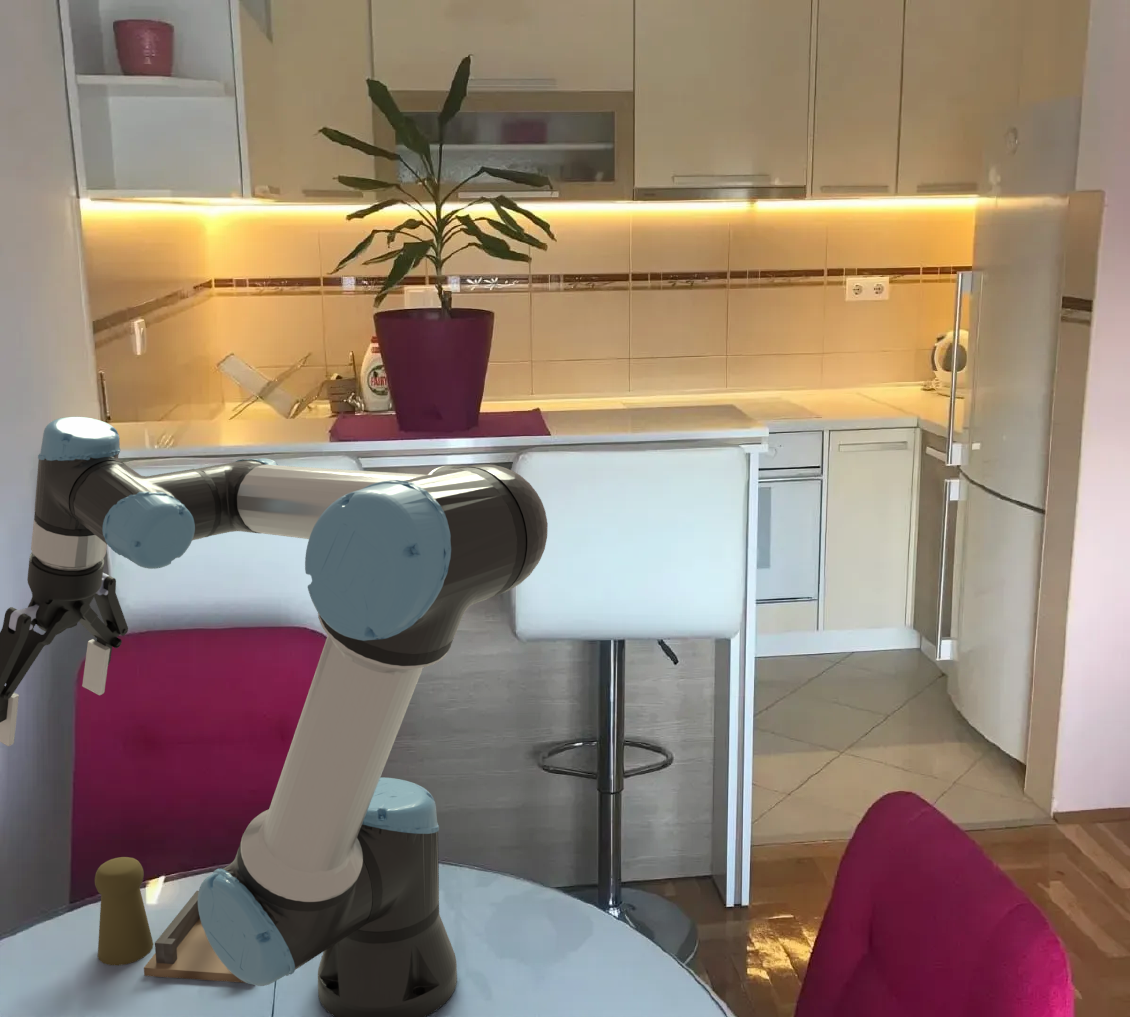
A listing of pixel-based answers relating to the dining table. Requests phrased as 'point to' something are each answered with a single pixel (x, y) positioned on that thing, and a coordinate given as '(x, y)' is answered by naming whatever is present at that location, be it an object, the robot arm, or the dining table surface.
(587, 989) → the dining table surface
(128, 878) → the cork
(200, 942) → the socket
